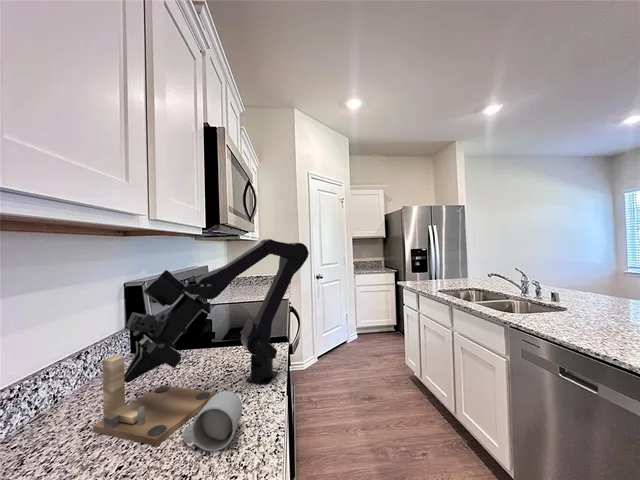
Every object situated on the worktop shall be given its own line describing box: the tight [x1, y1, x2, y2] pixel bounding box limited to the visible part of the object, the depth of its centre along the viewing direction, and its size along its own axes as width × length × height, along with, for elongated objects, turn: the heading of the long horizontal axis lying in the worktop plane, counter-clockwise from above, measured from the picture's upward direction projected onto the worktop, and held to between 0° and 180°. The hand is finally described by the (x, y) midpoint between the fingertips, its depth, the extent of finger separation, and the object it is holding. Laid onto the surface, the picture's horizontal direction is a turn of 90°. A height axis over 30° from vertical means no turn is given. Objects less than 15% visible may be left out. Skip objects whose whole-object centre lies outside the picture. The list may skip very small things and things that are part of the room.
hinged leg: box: [101, 355, 138, 424], centre depth 59 cm, size 7×3×12 cm, turn 74°
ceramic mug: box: [181, 390, 243, 452], centre depth 55 cm, size 11×8×8 cm
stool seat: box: [92, 384, 217, 447], centre depth 64 cm, size 17×16×4 cm
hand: (124, 380), depth 62 cm, fingers closed
